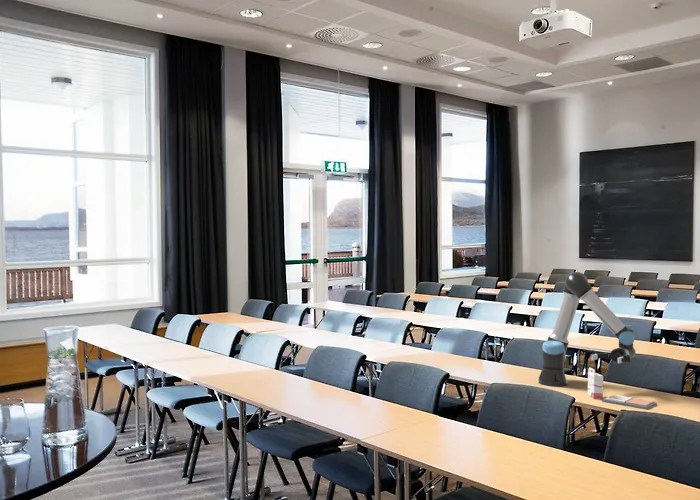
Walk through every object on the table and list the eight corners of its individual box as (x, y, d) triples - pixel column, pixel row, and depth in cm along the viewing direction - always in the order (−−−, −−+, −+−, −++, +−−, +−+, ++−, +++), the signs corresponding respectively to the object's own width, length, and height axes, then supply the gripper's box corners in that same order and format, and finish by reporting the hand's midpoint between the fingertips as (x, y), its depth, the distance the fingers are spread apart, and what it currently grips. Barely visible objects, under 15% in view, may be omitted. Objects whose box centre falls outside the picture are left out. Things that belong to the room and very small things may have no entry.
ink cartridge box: (603, 399, 315) (604, 370, 315) (593, 398, 315) (594, 369, 315) (596, 395, 324) (597, 367, 324) (587, 395, 324) (587, 366, 324)
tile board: (602, 401, 309) (602, 398, 309) (613, 397, 320) (613, 393, 320) (646, 409, 295) (646, 406, 295) (656, 404, 306) (656, 401, 306)
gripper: (643, 364, 333) (629, 369, 318) (596, 359, 350) (581, 363, 335) (643, 350, 333) (629, 354, 318) (596, 345, 350) (581, 349, 335)
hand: (604, 359), depth 326 cm, fingers open, 13 cm apart
